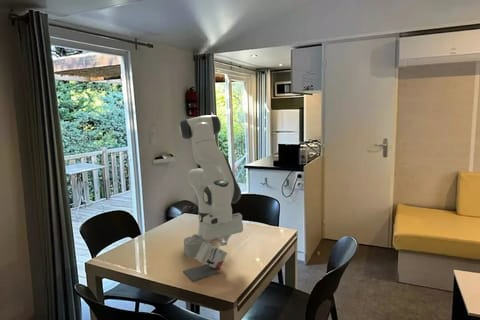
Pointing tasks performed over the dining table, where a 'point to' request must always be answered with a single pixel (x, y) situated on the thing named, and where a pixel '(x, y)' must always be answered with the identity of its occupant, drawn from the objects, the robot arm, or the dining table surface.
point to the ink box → (211, 255)
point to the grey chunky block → (193, 245)
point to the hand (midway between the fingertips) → (223, 245)
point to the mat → (201, 272)
